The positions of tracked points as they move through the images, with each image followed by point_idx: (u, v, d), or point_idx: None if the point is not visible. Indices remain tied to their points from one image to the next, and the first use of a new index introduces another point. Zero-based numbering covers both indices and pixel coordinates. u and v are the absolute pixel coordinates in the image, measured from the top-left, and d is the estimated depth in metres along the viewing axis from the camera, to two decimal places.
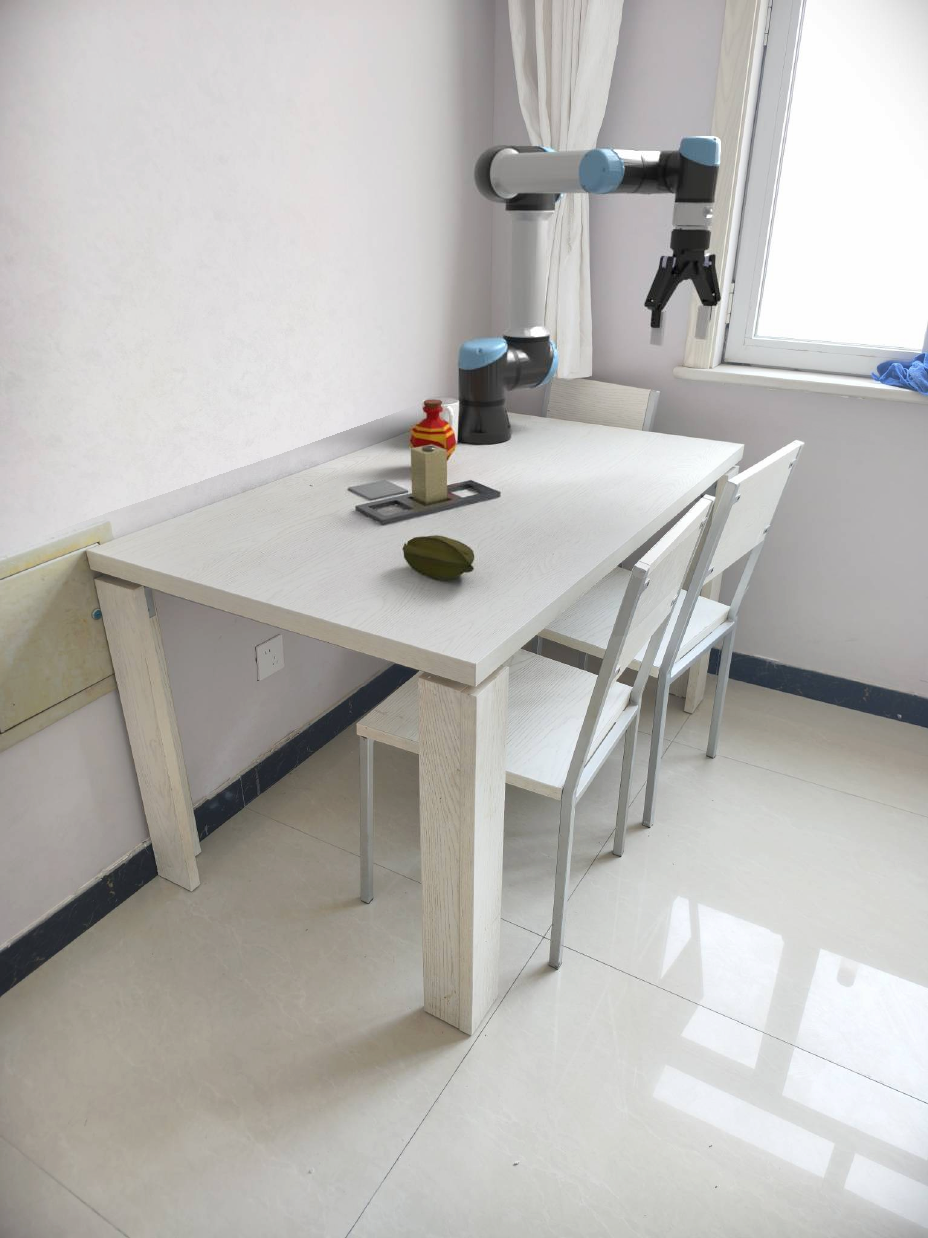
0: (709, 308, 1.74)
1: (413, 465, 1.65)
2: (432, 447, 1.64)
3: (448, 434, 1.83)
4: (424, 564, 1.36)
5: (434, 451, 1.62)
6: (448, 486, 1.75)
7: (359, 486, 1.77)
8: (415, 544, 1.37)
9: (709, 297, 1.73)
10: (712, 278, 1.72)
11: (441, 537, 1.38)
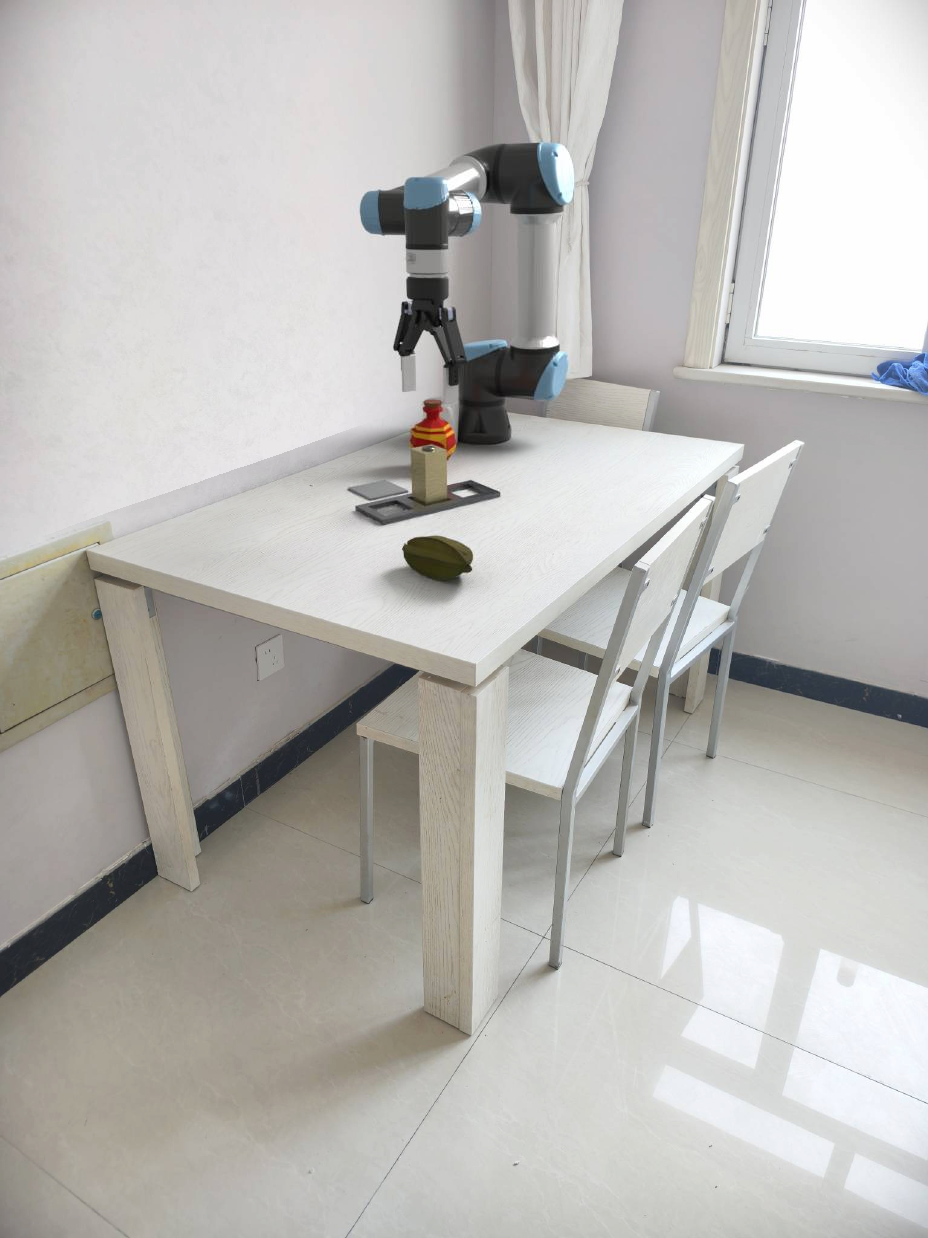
0: (443, 369, 1.51)
1: (413, 465, 1.65)
2: (432, 447, 1.64)
3: (448, 434, 1.83)
4: (423, 564, 1.36)
5: (434, 451, 1.62)
6: (448, 486, 1.75)
7: (359, 486, 1.77)
8: (415, 544, 1.37)
9: (443, 356, 1.50)
10: None
11: (441, 537, 1.38)
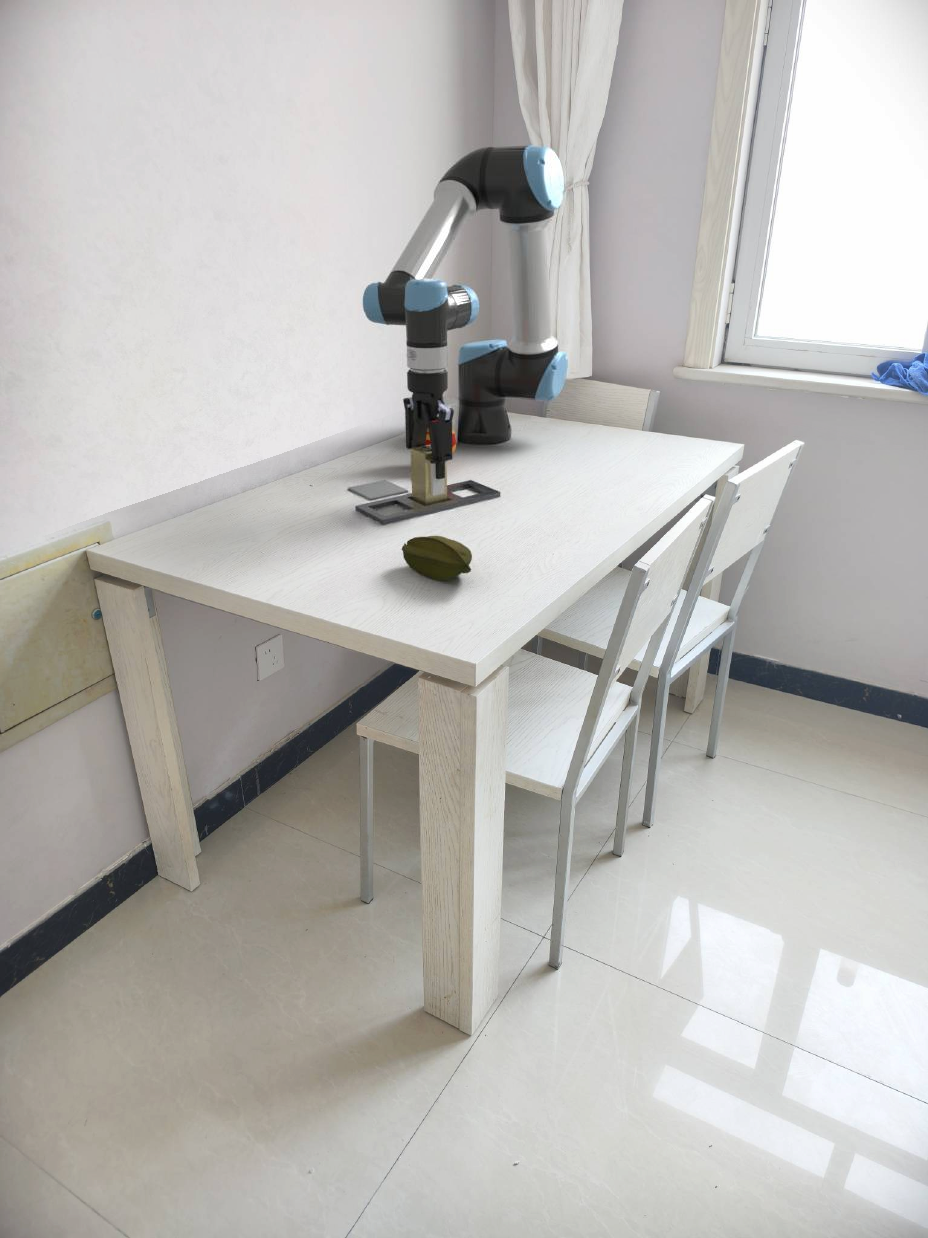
0: (431, 464, 1.62)
1: (413, 465, 1.65)
2: None
3: None
4: (423, 564, 1.36)
5: None
6: (448, 486, 1.75)
7: (359, 486, 1.77)
8: (414, 544, 1.37)
9: (432, 451, 1.61)
10: None
11: (440, 537, 1.38)
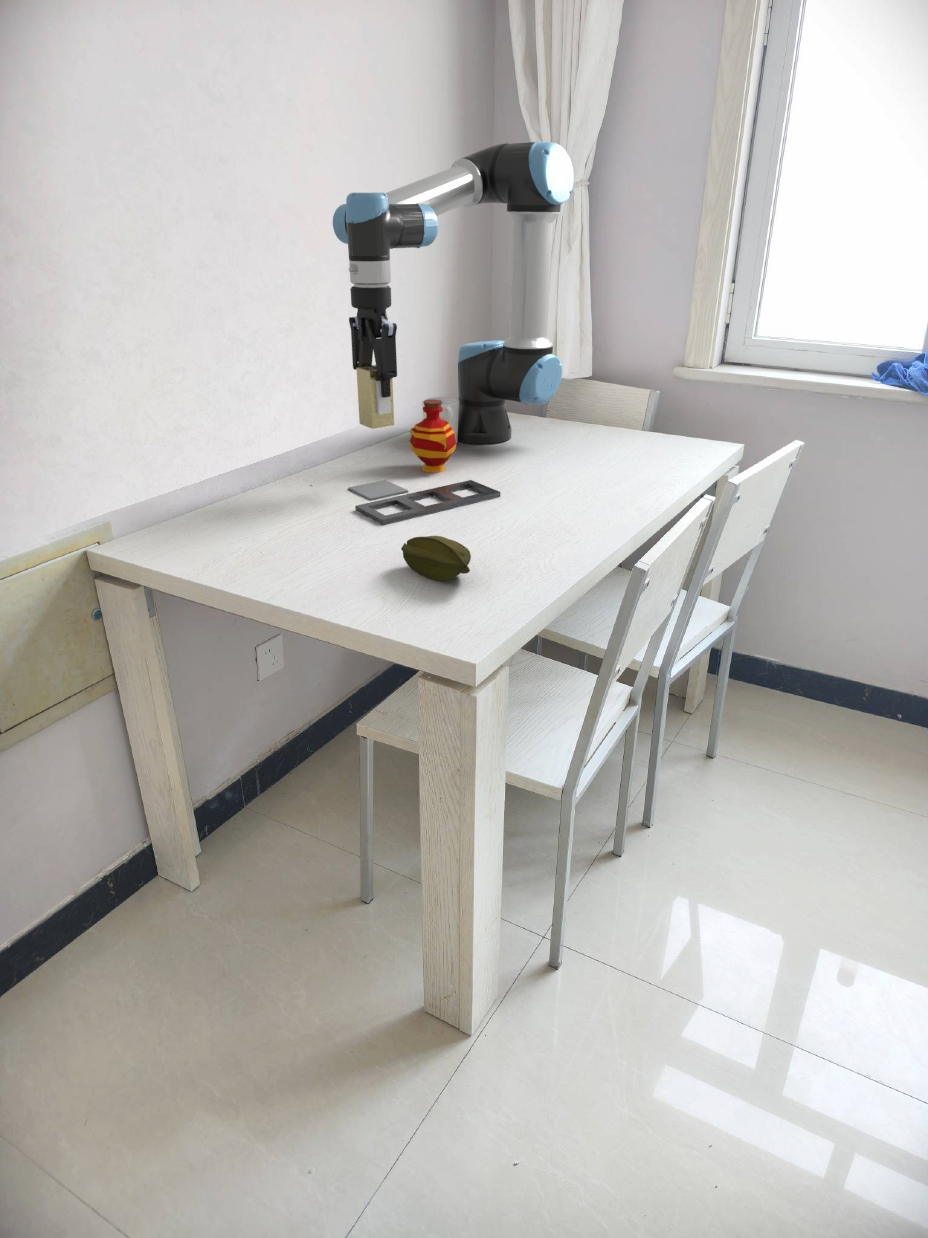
0: (376, 382, 1.63)
1: (359, 384, 1.66)
2: None
3: (448, 434, 1.83)
4: (422, 564, 1.36)
5: None
6: (448, 486, 1.75)
7: (359, 486, 1.77)
8: (414, 544, 1.37)
9: (377, 368, 1.62)
10: None
11: (440, 537, 1.38)
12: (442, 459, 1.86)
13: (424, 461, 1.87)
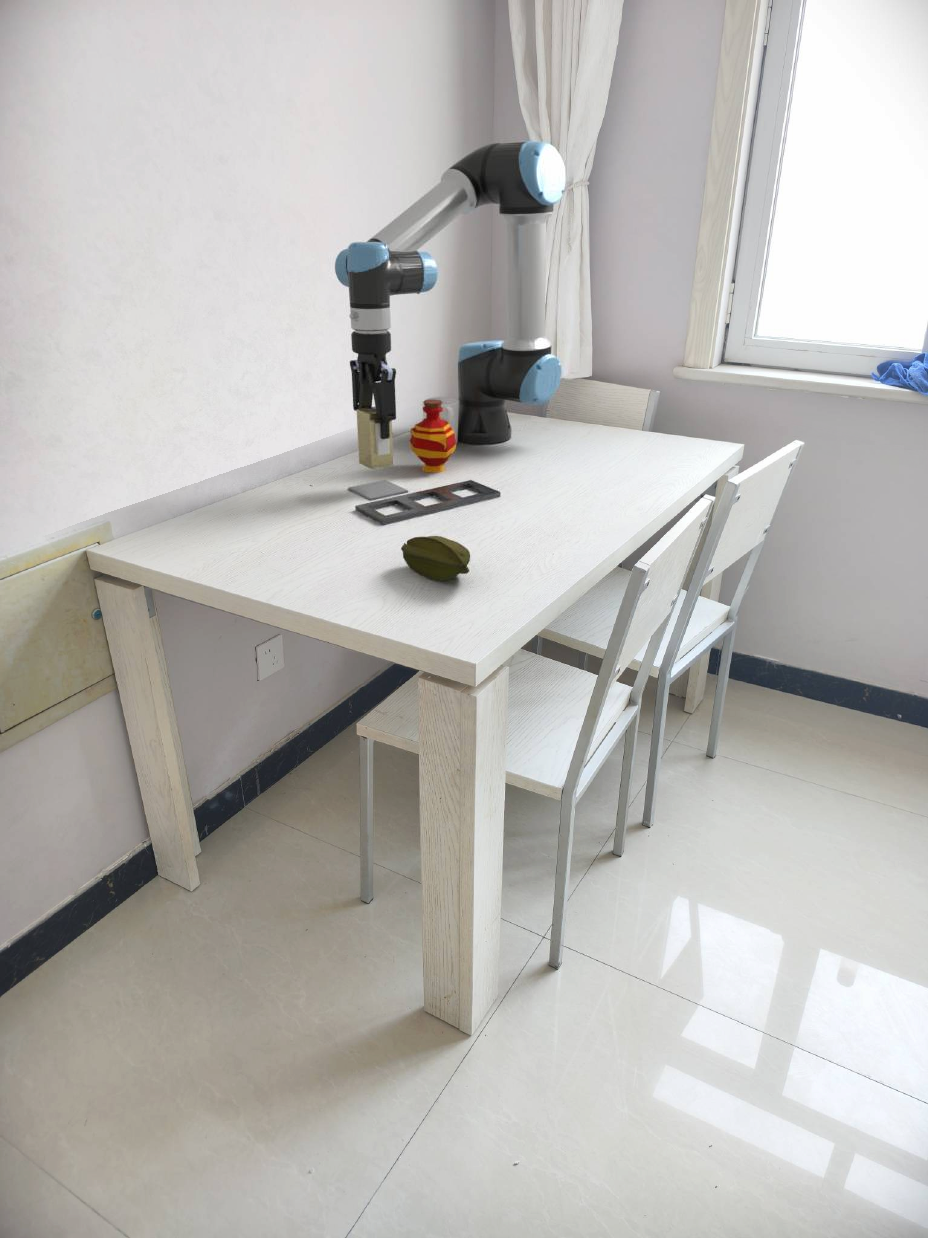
0: (375, 424, 1.67)
1: (359, 426, 1.70)
2: None
3: (448, 434, 1.83)
4: (422, 564, 1.36)
5: None
6: (448, 486, 1.75)
7: (359, 486, 1.77)
8: (414, 544, 1.37)
9: (376, 411, 1.65)
10: None
11: (440, 538, 1.38)
12: (442, 459, 1.86)
13: (424, 461, 1.87)
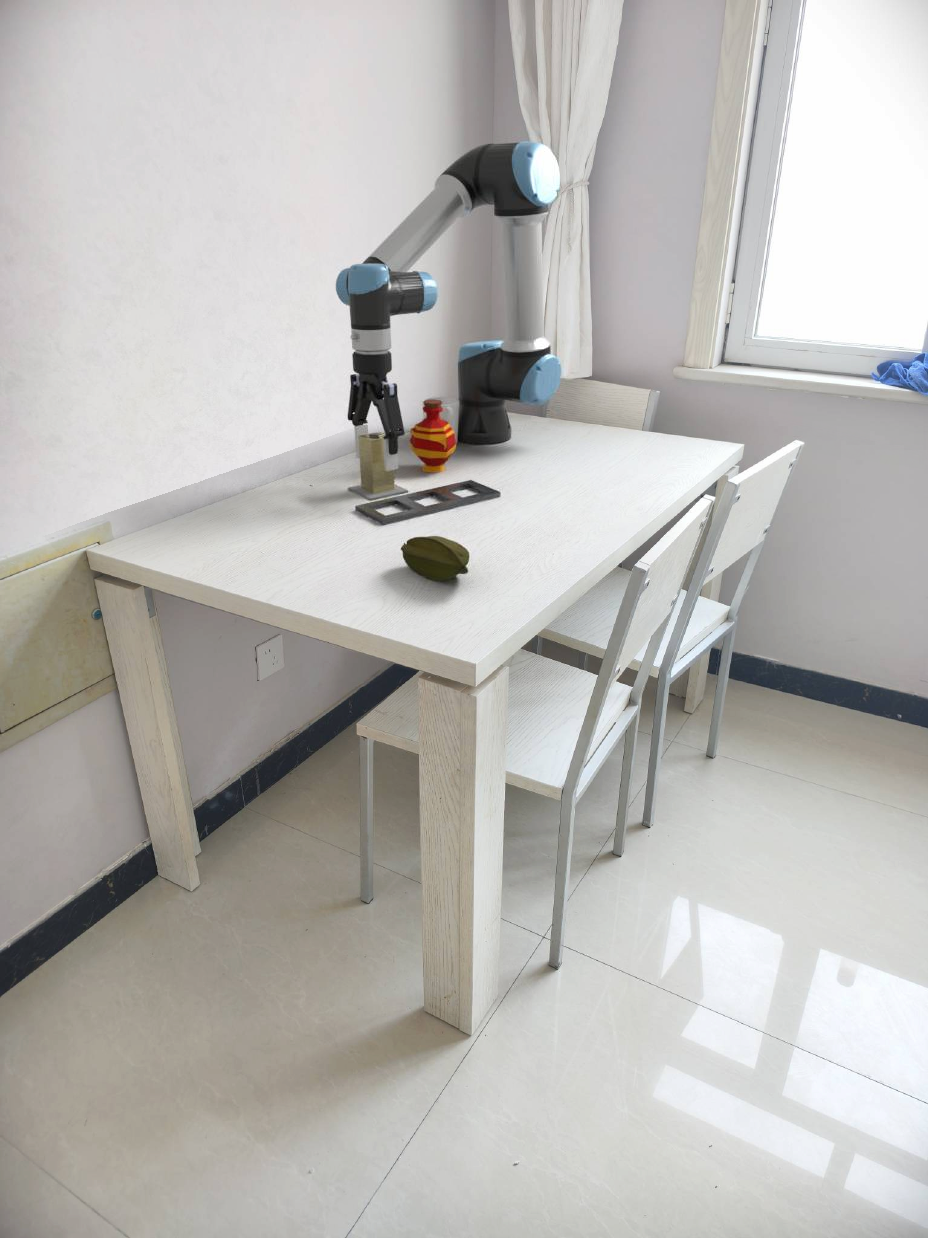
0: (384, 439, 1.66)
1: (361, 451, 1.72)
2: (379, 434, 1.71)
3: (448, 434, 1.83)
4: (421, 564, 1.36)
5: (380, 438, 1.69)
6: (448, 486, 1.75)
7: (359, 486, 1.77)
8: (413, 544, 1.37)
9: (384, 428, 1.65)
10: None
11: (440, 538, 1.38)
12: (442, 459, 1.86)
13: (424, 461, 1.87)
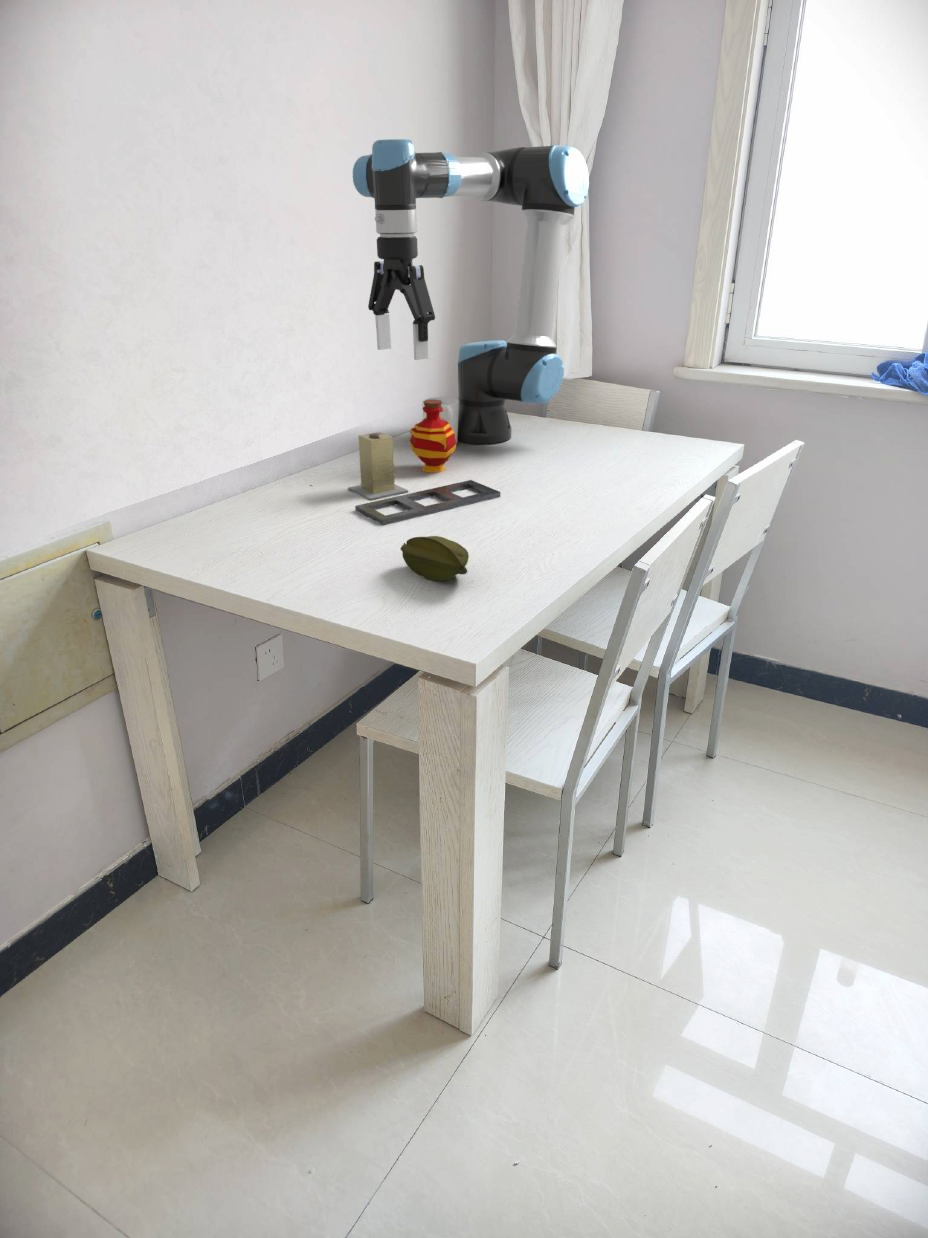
0: (413, 325, 1.58)
1: (361, 451, 1.72)
2: (379, 434, 1.71)
3: (448, 434, 1.83)
4: (420, 564, 1.36)
5: (380, 438, 1.69)
6: (448, 486, 1.75)
7: (359, 486, 1.77)
8: (413, 544, 1.37)
9: (413, 313, 1.58)
10: None
11: (440, 538, 1.38)
12: (442, 459, 1.86)
13: (424, 461, 1.87)
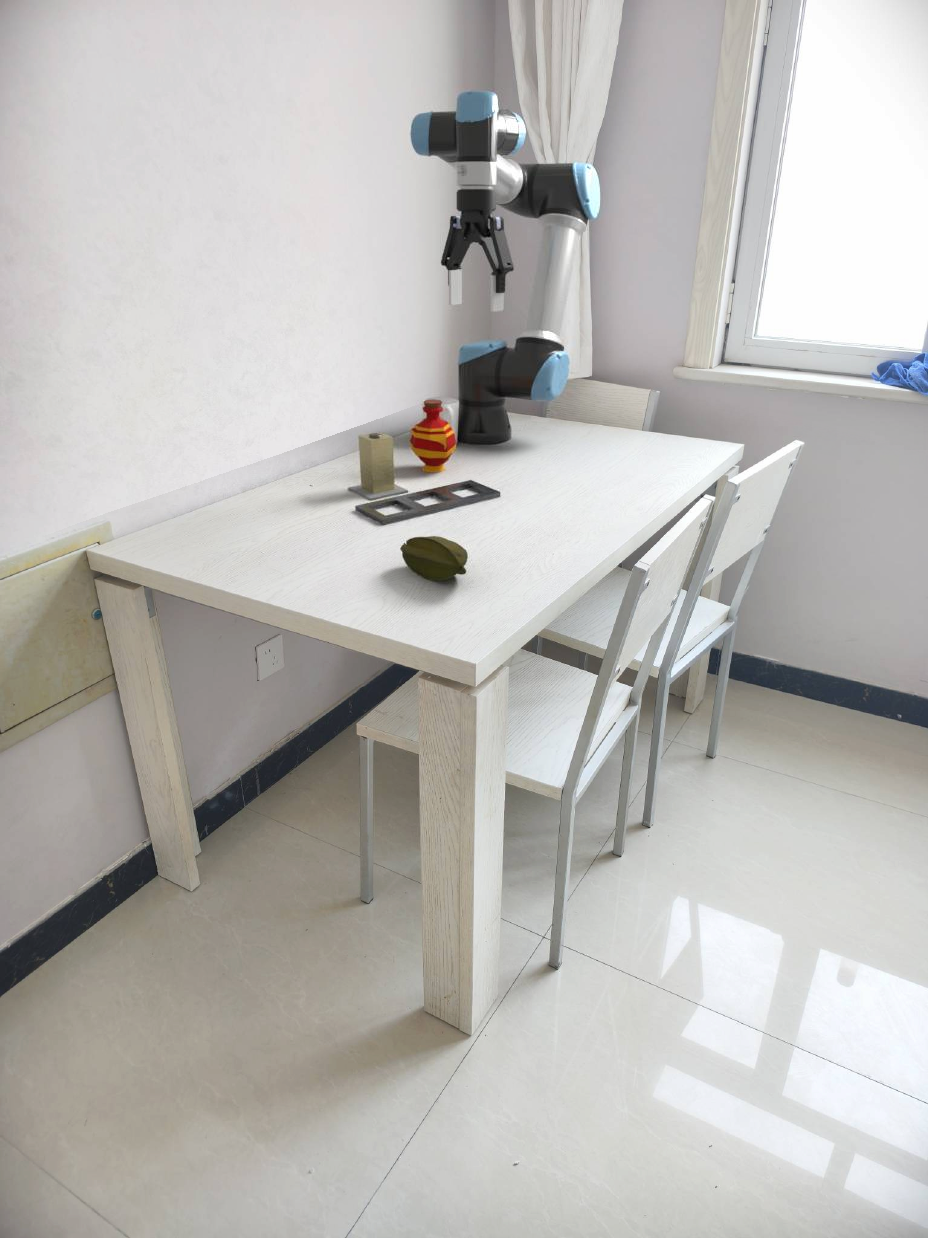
0: (491, 277, 1.61)
1: (361, 451, 1.72)
2: (379, 434, 1.71)
3: (448, 434, 1.83)
4: (420, 564, 1.36)
5: (380, 438, 1.69)
6: (448, 486, 1.75)
7: (359, 486, 1.77)
8: (413, 544, 1.37)
9: (491, 265, 1.60)
10: None
11: (439, 538, 1.38)
12: (442, 459, 1.86)
13: (424, 461, 1.87)
